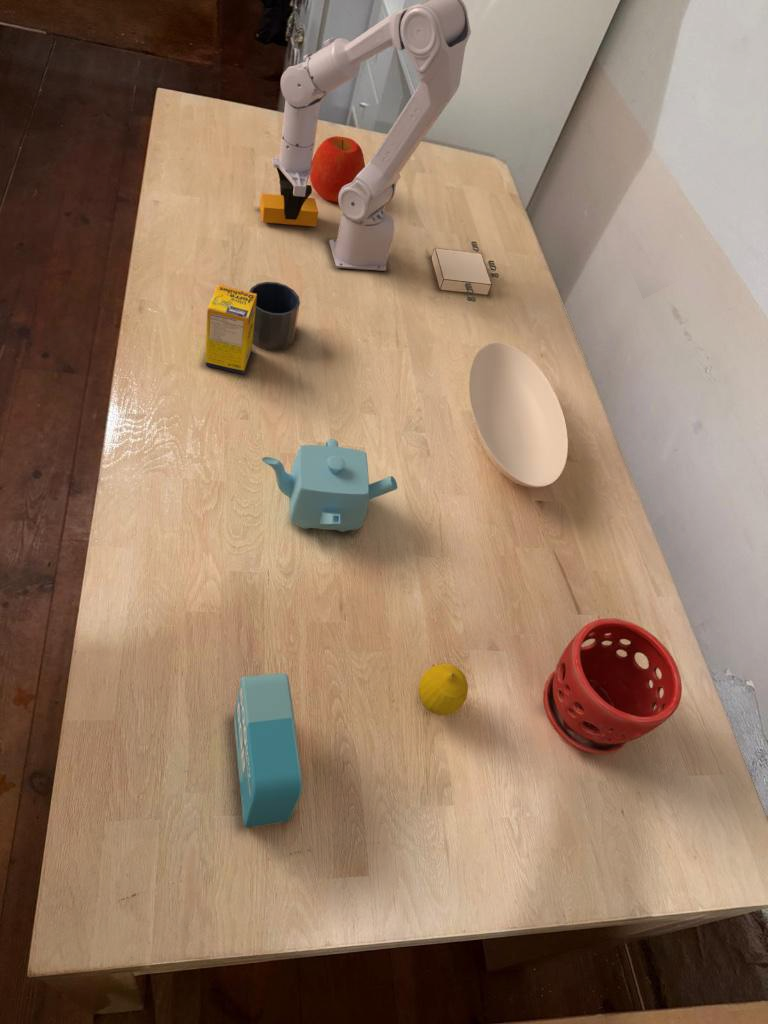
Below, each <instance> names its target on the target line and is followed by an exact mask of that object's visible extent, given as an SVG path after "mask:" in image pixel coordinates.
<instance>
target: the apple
mask: <svg viewBox="0 0 768 1024" xmlns="http://www.w3.org/2000/svg"><path fill="white" fill-rule="evenodd" d="M365 166H366V163H365V156H364V153H363V150H362V147H361V146H360V144H359V143H357V142H356V141H355V140H354V139H352V138H349V137H346V136H340V135H339V136H338V135H337V136H336V135H334V136H331V137H328V138H327V139H325V140H323V141H322V142H321V144H320V145H319V146H318V147H317V149H316V151H315V153H314V154H313V157H312V171H311V174H310V176H309V179H310V183H311V186H312V189H314V190H315V192H316V193H317V194H318V196H320V197H322V198H323V199H324V200H325V201H326V200H327V201H330V202H334V203H339V202H338V196H339V192H340V190H341V188H342V187H343V186H345V185H347V184H349V183H351V182H352V181H353V180H354V179H355V177H356V176H357V175H358V174H359V172H360V171H361V170H362V169H363V168H364V167H365Z"/></svg>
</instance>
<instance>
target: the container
mask: <svg viewBox="0 0 768 1024" xmlns="http://www.w3.org/2000/svg"><path fill="white" fill-rule="evenodd" d="M470 245H471V247H472V250H473V252H472V251H464V250H457V249H450V248H449V249H448V248H441V247H434V248H433V252H432V256H431V257H430V258H431V263H432V267H433V270H434V273H435V278H436V281H437V284H438V288H439V290H440V291H446V292H455V293H464V294H468V295H483V296H488V295H489V293H490V291H491V289H492V286H493V284H492V280H491V277H492V278H496V279H498V278H499V277H500V275H499V273H497V272H495V271H497V269H498V268H497V266H496V263H495V260H488V261H487V263H488V266H489V269H490V271H492V272H491V273H490V274H489V271H488V269H487V265H486V262H485V259H484V257H483V253H481V252H479V251H480V248H479V246H478V242H477V241H471V243H470ZM494 272H495V273H494ZM466 300H467V301H468V302H473V303H475V302H476V301H477V298H476V297H475V296H467V298H466Z"/></svg>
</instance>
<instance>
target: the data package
mask: <svg viewBox="0 0 768 1024" xmlns="http://www.w3.org/2000/svg"><path fill="white" fill-rule="evenodd" d="M292 699H293V698H292V692H291V685H290V680H289V676H288V674H287V673H286V672H278V673H267V674H259V675H258V674H256V675H248V676H247V675H246V676H242V677H241V678H240V681H239V686H238V692H237V698H236V704H235V710H234V717H233V719H234V720H233V723H234V725H233V726H234V736H235V746H236V748H235V749H236V757H237V759H236V760H237V768H238V779H239V790H240V791H239V792H240V802H241V803H240V804H241V812H242V813H241V814H242V822H243V826H244V827H245V828H254V827H260V826H267V825H271V824H272V825H274V824H280V823H285V822H287V823H288V822H289V821H290V820H291V818H292V816H293V814H294V811H295V809H296V807H297V805H298V803H299V800H300V798H301V796H302V794H303V772H302V771H303V770H302V763H301V757H300V751H299V744H298V736H297V728H296V722H295V713H294V707H293V702H292Z"/></svg>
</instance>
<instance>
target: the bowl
mask: <svg viewBox="0 0 768 1024" xmlns="http://www.w3.org/2000/svg"><path fill="white" fill-rule="evenodd" d="M469 369H470V370H469V373H468V374H469V375H468V398H469V399H468V400H469V407H470V412H471V417H472V422H473V426H474V429H475V432H476V435H477V437H478V440H479V443H480V444H481V447H482V448H483V450H484V452H485V454H486V455H487V457H488V459H489V460H490V461H491V463H492V464H493V465H494V467H495V468H496V469H497V471H499V472H500V473H501V474H502V475H503V476H504V477H505V478H507V479H508V480H510V481H511V482H513V483H515V484H518V485H521V486H523V487H528V488H544V487H548V486H550V485H551V484H553V483H554V482H556V481H557V479H559V477H560V476H561V474H562V473H563V471H564V469H565V466H566V463H567V458H568V453H569V451H568V450H569V440H568V439H569V437H568V430H567V424H566V419H565V415H564V412H563V409H562V406H561V404H560V402H559V398H558V396H557V394H556V392H555V391H554V388H553V386H552V385H551V383H550V381H549V380H548V378H547V376H546V375H545V373H544V371H542V370H541V368H540V366H538V365H537V363H535V361H534V360H533V359H532V358H531V357H529V356H528V355H527V354H526V353H525V352H523V351H522V350H520V349H519V348H517V347H515V346H514V345H512V344H508V343H505V342H492V343H488V344H485V345H484V346H483V347H482V348H480V349H479V350H478V351H477V353H476V354H475V355H474V358H473V360H472V363H471V365H470V368H469Z"/></svg>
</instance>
